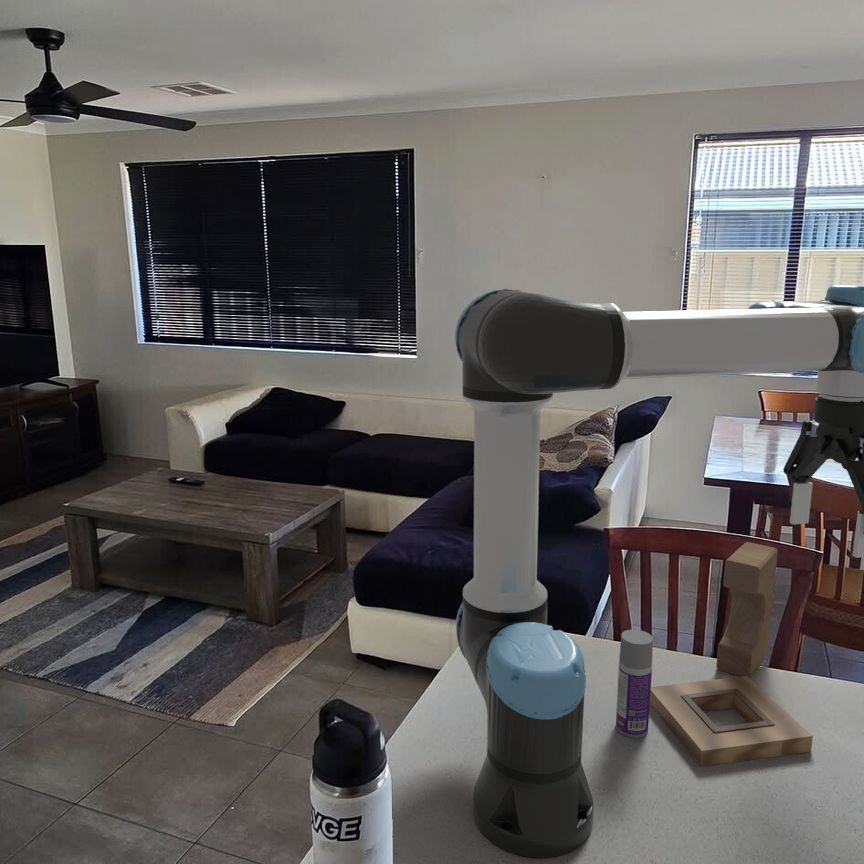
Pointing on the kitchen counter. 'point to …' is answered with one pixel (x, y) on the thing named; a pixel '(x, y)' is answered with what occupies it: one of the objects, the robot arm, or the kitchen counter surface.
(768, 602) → the decorative block
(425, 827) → the kitchen counter surface
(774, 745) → the board
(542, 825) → the robot arm
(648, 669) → the container
